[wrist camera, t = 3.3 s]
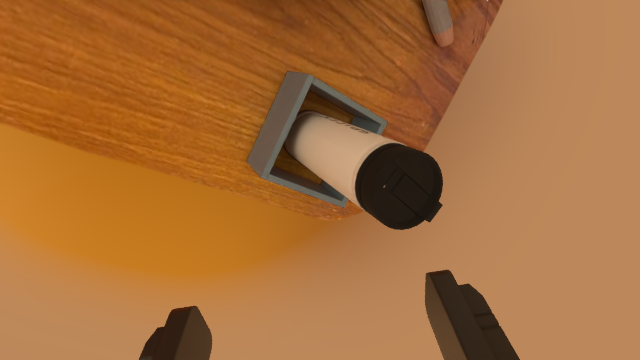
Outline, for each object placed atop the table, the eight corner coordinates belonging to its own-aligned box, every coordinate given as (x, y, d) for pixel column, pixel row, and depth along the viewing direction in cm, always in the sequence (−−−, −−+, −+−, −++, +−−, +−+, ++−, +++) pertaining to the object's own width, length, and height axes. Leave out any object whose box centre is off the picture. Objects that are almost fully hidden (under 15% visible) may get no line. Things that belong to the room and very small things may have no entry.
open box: (246, 161, 38) (260, 177, 33) (287, 70, 37) (309, 73, 32) (322, 190, 44) (344, 208, 39) (360, 113, 43) (388, 121, 38)
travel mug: (310, 169, 43) (414, 247, 26) (271, 141, 39) (362, 210, 22) (338, 130, 42) (461, 183, 26) (302, 98, 39) (418, 135, 22)
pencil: (411, -46, 39) (403, -36, 38) (436, -58, 37) (429, -49, 36) (438, 40, 45) (432, 51, 44) (460, 33, 44) (455, 45, 42)
